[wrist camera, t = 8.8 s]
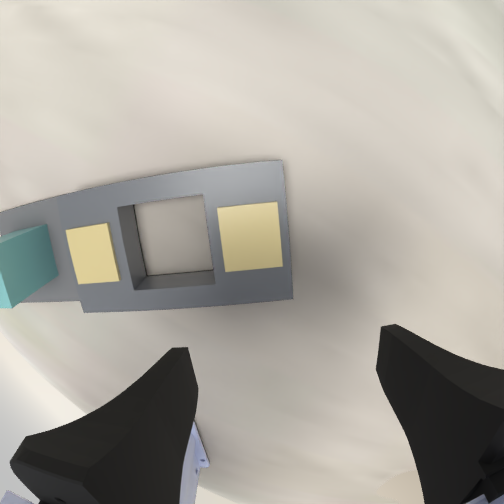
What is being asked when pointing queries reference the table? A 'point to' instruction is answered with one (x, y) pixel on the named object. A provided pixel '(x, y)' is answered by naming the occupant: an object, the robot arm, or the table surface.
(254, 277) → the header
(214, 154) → the table surface
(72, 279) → the mat
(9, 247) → the plug
